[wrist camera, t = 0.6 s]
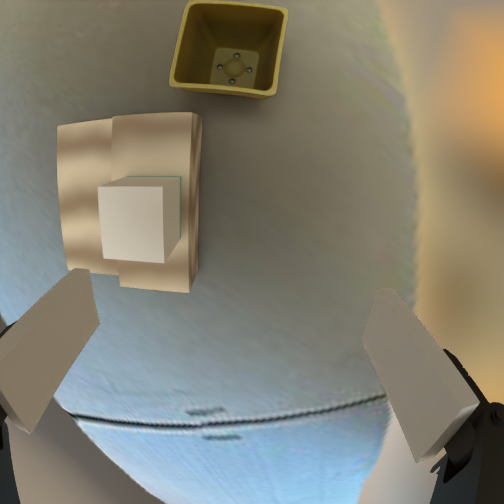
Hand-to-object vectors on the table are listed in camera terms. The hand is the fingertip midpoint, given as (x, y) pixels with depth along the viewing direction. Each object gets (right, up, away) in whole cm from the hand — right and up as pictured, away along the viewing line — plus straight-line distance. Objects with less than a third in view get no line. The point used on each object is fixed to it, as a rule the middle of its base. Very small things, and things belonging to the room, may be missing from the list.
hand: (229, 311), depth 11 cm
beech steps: (-14, +9, +21) cm, 26 cm away
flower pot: (-1, +22, +16) cm, 27 cm away
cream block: (-9, +7, +15) cm, 19 cm away
